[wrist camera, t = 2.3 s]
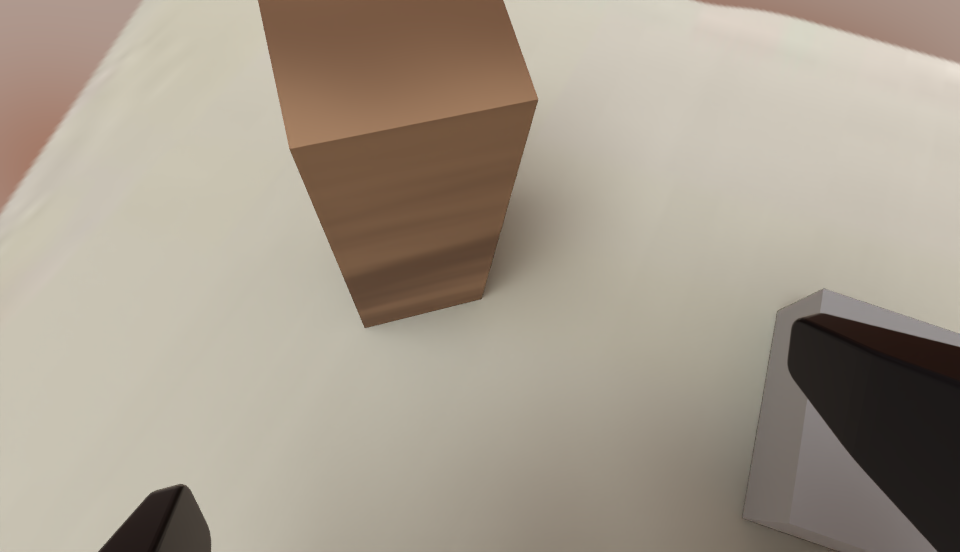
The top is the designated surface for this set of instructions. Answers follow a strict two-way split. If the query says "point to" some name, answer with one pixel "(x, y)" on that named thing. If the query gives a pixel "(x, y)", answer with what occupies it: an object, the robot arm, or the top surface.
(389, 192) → the walnut block
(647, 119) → the top surface
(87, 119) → the top surface
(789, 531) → the plinth
